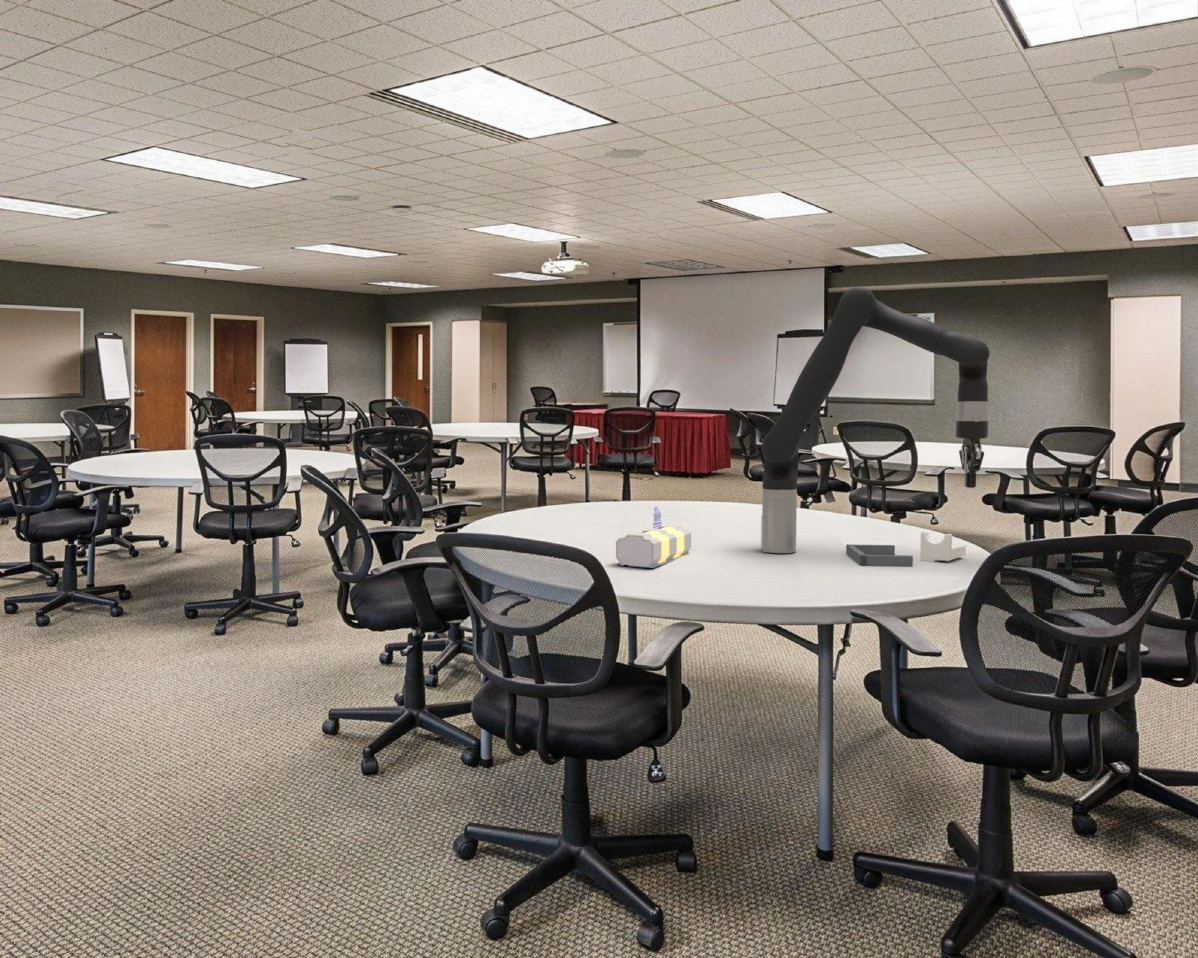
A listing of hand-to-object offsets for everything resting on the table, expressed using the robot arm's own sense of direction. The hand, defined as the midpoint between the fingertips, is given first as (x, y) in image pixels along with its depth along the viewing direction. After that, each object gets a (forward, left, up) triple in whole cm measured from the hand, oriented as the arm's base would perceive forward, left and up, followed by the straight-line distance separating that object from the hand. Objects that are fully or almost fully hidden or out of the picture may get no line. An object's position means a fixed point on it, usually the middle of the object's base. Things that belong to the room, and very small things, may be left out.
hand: (970, 487), depth 232 cm
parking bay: (-22, 0, -19) cm, 29 cm away
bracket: (-6, +3, -20) cm, 20 cm away
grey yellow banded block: (-80, -3, -20) cm, 83 cm away
